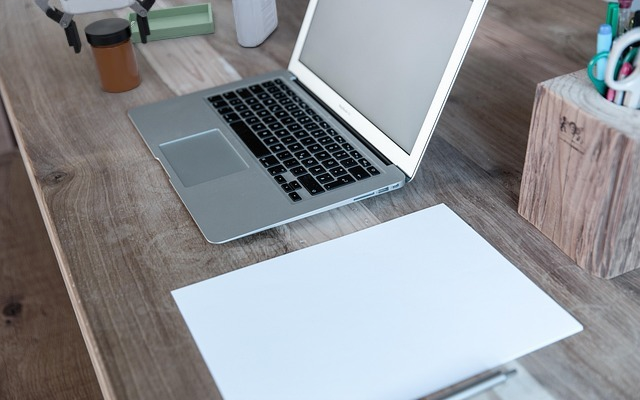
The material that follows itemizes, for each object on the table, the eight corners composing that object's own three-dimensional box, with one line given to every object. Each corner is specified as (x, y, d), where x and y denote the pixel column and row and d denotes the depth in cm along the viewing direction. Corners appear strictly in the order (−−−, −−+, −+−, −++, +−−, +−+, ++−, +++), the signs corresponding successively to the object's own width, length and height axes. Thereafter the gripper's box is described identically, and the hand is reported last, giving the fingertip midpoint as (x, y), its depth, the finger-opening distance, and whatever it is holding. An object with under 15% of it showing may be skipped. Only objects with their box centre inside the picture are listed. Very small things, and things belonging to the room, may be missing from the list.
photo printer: (258, 23, 124) (249, -49, 117) (281, 25, 123) (273, -48, 116) (235, 47, 116) (223, -28, 109) (259, 49, 115) (249, -28, 108)
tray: (125, 44, 121) (122, 33, 120) (129, 22, 129) (126, 12, 128) (214, 32, 122) (212, 22, 121) (212, 12, 130) (211, 2, 129)
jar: (99, 95, 105) (85, 41, 100) (103, 78, 110) (89, 26, 105) (140, 89, 106) (127, 36, 101) (142, 72, 111) (130, 21, 106)
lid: (126, 25, 107) (123, 14, 106) (137, 39, 102) (134, 27, 101) (83, 35, 105) (80, 24, 104) (92, 49, 100) (89, 38, 99)
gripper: (9, -61, 90) (48, 64, 100) (146, -78, 92) (171, 46, 102) (17, -75, 96) (54, 44, 106) (146, -91, 98) (170, 27, 108)
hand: (111, 45), depth 104 cm, fingers open, 9 cm apart
